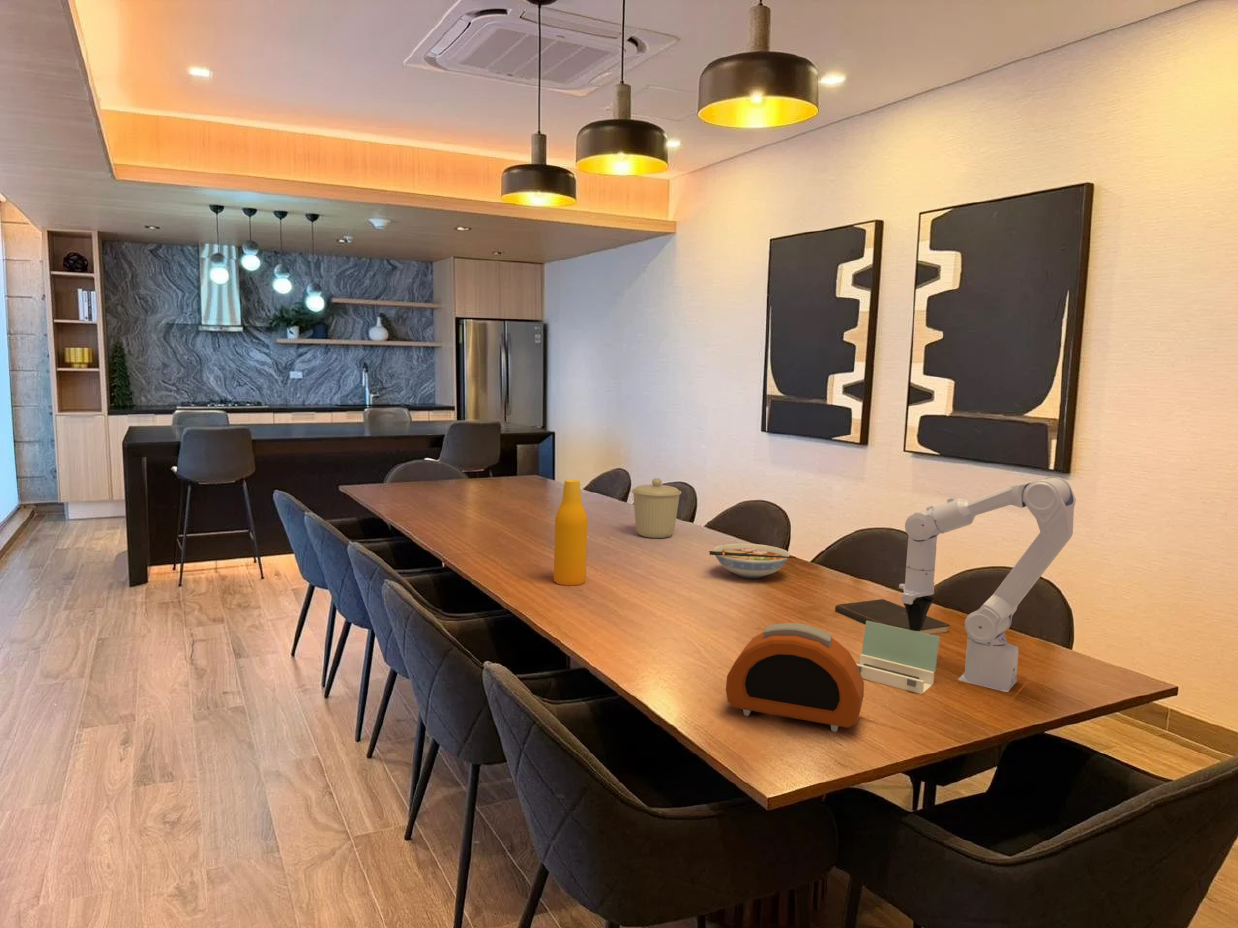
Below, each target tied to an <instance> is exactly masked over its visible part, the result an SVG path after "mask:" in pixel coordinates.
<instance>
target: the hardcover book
mask: <svg viewBox="0 0 1238 928" xmlns="http://www.w3.org/2000/svg"><path fill="white" fill-rule="evenodd" d="M834 612H835V613H838V614H840V615H842V616H845V617H846V618H849V619H852V620H853V621H856V622H859V623H861V624H862V625H866V621H871V622H875V623H880V624H884V625H889V626H893V627H898V628H903V629H907V630H910V627H909V621H908V615H907V611H906V608H905V606H902V605H900V604H897V603H895V602H893V601H889V600H887V599H884V598H881V599H873V600H872V599H871V600H864V601H855V602H849V603H848V602H847V603H841V604H836V605H835V608H834ZM949 627H951V624H949V623H947V622H945V621H944V622H943V621H941V620H939V619H936V618H933V617H931V616H928V615H926V618H925V621H924V624H923V627H922V630H921V631H916V632H921V633H925V634H930V635H935V634H941V633H947V632H948V629H949ZM912 631H915V630H912Z"/></svg>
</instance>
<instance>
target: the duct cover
mask: <svg viewBox="0 0 1238 928" xmlns="http://www.w3.org/2000/svg"><path fill="white" fill-rule="evenodd" d="M864 625H865V624H864ZM863 635H864V636H863V643H862V650H861V654H864V655H868V656H872V657H876V658H880V659H884V660H888V661H892V662H896V663H900V664H904V665H908V666H912V667H916V668H920V669H924V670H928V671H932V672H934V673H935V672H936V670H937V661H938V654H939V645H940V638H941V636H938V635H935V634H925V633H921V632H916V631H912V630H907V629H903V628H898V627H893V626H889V625H884V624H880V623H875V622H871V621H866V625H865V627H864V634H863Z"/></svg>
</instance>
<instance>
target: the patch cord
mask: <svg viewBox="0 0 1238 928" xmlns="http://www.w3.org/2000/svg"><path fill="white" fill-rule="evenodd" d="M863 665H864V666H868V667H872V668H876V669H880V670H884V671H888V672H892V673H895V674H899V675H903V676H907V677H911V678H915V679H919V677H916V676H912V675H908V674H904V673H900V672H896V671H892V670H888V669H885V668H881V667H877V666H873V665H869V664H865V663H864V664H863Z"/></svg>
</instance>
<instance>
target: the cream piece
mask: <svg viewBox="0 0 1238 928" xmlns="http://www.w3.org/2000/svg"><path fill="white" fill-rule="evenodd" d="M864 663H865V664H869V665H873V666H877V667H881V668H885V669H888V670H892V671H896V672H900V673H904V674H908V675H912V676H916V677H919V679H915V678H911V677H907V676H903V675H899V674H895V673H892V672H888V671H884V670H880V669H876V668H872V667H868V666H864V665H863V664H864ZM856 664H857V666H858V669H859V671H860V674H861V676H862V679H863V680H867V681H871V682H875V683H876V684H877V683H878V684H882V685H885V686H889V687H893V688H897V689H901V690H904V691H907V692H912V693H917V694H919V695H923V694H924V693H926V691H928V689H930V688H931V687H932V686H933V685H934V681H935V672H933V671H929V670H925V669H921V668H917V667H913V666H909V665H904V664H900V663H896V662H892V661H888V660H884V659H880V658H876V657H872V656H868V655H864V654H862V653H861V654H859V662H858V663H856Z"/></svg>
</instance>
